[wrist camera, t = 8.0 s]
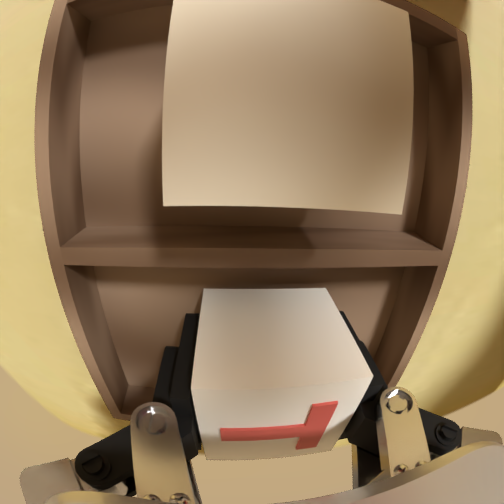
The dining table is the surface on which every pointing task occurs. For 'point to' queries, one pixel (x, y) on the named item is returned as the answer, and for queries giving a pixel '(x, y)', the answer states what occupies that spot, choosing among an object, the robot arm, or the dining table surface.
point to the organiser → (223, 217)
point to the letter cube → (274, 373)
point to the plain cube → (288, 104)
